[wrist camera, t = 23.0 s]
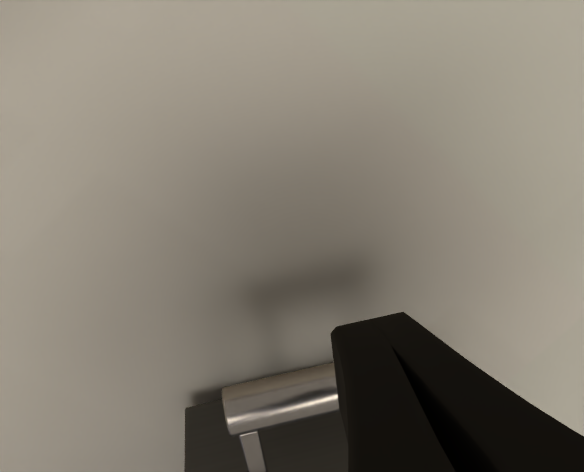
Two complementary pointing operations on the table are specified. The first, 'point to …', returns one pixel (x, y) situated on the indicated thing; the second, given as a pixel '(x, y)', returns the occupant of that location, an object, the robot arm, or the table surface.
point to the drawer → (270, 426)
